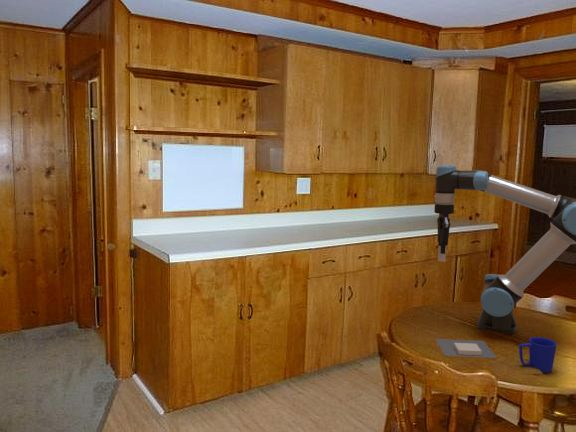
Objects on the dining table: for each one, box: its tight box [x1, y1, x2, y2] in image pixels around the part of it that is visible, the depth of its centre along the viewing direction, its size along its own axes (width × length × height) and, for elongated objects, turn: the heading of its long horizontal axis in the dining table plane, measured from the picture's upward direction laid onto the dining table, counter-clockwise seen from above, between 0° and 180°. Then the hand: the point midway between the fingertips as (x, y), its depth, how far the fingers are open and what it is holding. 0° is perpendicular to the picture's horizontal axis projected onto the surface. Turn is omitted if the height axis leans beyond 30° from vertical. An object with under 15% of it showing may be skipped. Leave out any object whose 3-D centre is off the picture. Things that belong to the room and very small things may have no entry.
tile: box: [454, 343, 482, 356], centre depth 175 cm, size 8×2×7 cm
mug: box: [518, 336, 557, 374], centre depth 164 cm, size 8×12×10 cm
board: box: [435, 338, 498, 359], centre depth 179 cm, size 18×16×2 cm
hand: (441, 260), depth 198 cm, fingers closed
